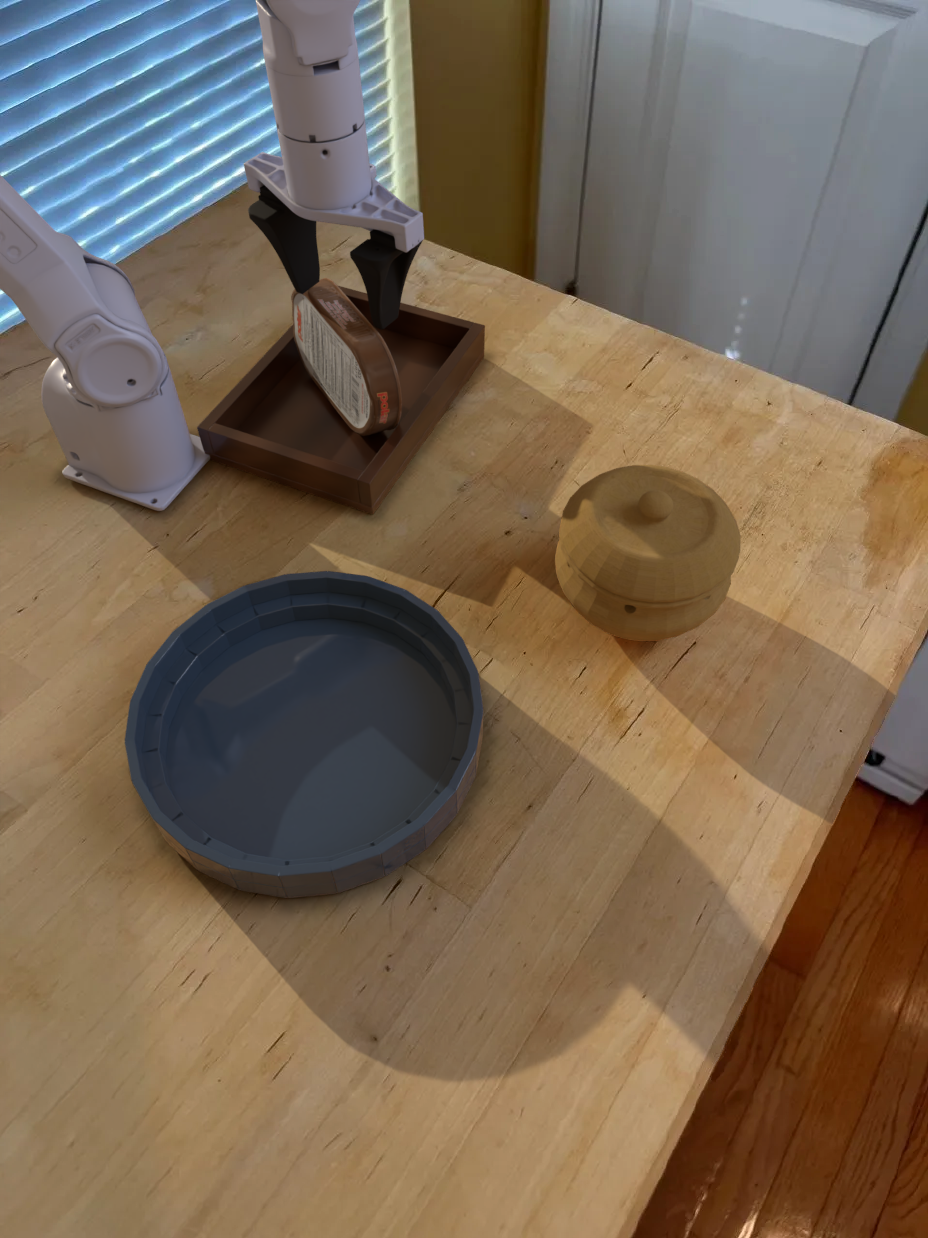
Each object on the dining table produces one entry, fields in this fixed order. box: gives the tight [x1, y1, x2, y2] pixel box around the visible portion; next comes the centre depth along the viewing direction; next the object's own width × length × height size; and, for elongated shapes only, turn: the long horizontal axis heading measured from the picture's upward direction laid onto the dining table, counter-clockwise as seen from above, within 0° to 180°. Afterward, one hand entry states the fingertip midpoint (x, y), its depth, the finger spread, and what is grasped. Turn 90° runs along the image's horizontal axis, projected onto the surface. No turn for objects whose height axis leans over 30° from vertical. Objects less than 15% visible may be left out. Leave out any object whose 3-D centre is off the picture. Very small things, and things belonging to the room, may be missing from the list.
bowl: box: [124, 570, 484, 899], centre depth 58 cm, size 21×21×4 cm
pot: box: [554, 464, 742, 642], centre depth 62 cm, size 12×12×10 cm
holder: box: [196, 284, 486, 515], centre depth 77 cm, size 15×21×3 cm
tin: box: [290, 277, 402, 436], centre depth 74 cm, size 15×3×8 cm, turn 31°
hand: (346, 303), depth 71 cm, fingers open, 7 cm apart
